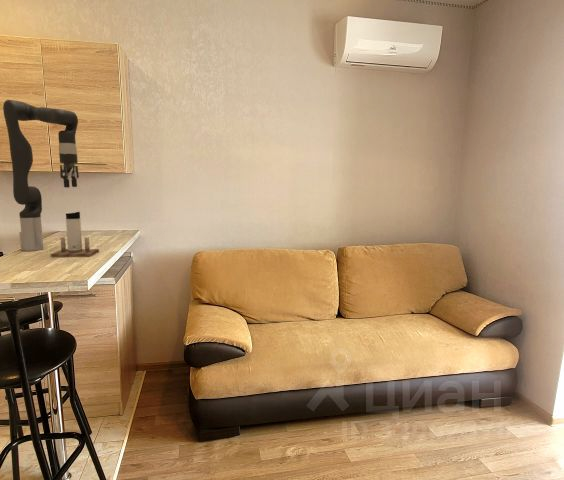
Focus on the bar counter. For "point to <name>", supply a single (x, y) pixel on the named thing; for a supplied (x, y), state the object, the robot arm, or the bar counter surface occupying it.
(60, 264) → the bar counter surface
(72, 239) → the travel mug
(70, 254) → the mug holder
